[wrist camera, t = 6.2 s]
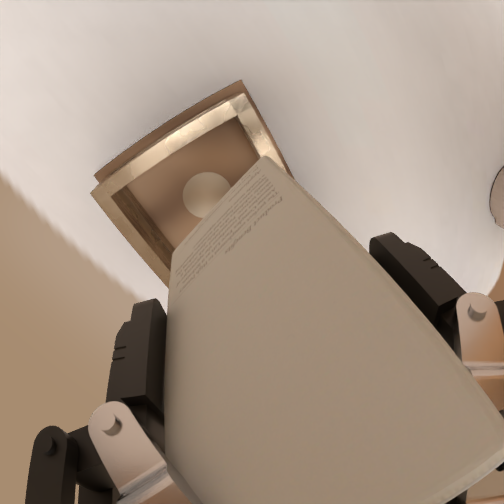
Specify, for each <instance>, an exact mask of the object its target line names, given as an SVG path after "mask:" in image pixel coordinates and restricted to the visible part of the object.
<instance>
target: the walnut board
mask: <svg viewBox="0 0 504 504" xmlns="http://www.w3.org/2000/svg"><path fill="white" fill-rule="evenodd" d="M237 92H241V93H245V95H246V97H247V99H248V100H249V102H250V104H251V106H252V107H253V109H254V111H255V113H256V115H257V116H258V118H259V120H260V122H261V124H262V126H263V127H264V129H265V131H266V133H267V135H268V137H269V139H270V140H271V142H272V144H273V146H274V148H275V150H276V152H277V154H278V156H279V158H280V159H281V161H282V163H283V165H284V167H285V169H286V171H287V173H288V174H289V175H290V176H291V177H292V178H293V176H292V174H291V172H290V170H289V168H288V166H287V164H286V162H285V160H284V158H283V156H282V154H281V152H280V150H279V148H278V146H277V144H276V142H275V140H274V138H273V137H272V135H271V133H270V131H269V129H268V127H267V125H266V124H265V122H264V120H263V118H262V116H261V114H260V113H259V111H258V109H257V107H256V105H255V104H254V102H253V100H252V98H251V96H250V95H249V93H248V91H247V89H246V88H245V86H244V84H243V82H242V81H241V80H239V81H237V82H235V83H233V84H232V85H230V86H228V87H226V88H224V89H222V90H220V91H218V92H217V93H215V94H213V95H211V96H209V97H208V98H206V99H204V100H202V101H201V102H199V103H197V104H195V105H194V106H192V107H190V108H189V109H187V110H185V111H184V112H182V113H180V114H179V115H177V116H176V117H174V118H172V119H171V120H169V121H168V122H166V123H165V124H163V125H162V126H160V127H159V128H157V129H156V130H154V131H153V132H151V133H150V134H148V135H147V136H145V137H144V138H142V139H141V140H139V141H138V142H137V143H135V144H134V145H132V146H131V147H130V148H128V149H127V150H126V151H124V152H123V153H122V154H120V155H119V156H117V157H116V158H115V159H114V160H112V161H111V162H110V163H108V164H107V165H106V166H105V167H103V168H102V169H101V170H99V171H98V172H97V173H96V174H95V175H94V176H95V178H96V179H97V180H98V182H99V183H100V182H101V181H102V180H103V179H104V178H105V177H106V176H107V175H108V174H110V173H111V172H112V171H114V170H115V169H116V168H118V167H119V166H120V165H122V164H123V163H124V162H126V161H127V160H129V159H130V158H131V157H133V156H134V155H135V154H137V153H138V152H140V151H141V150H143V149H144V148H145V147H147V146H148V145H150V144H151V143H153V142H154V141H156V140H157V139H159V138H160V137H162V136H163V135H165V134H166V133H168V132H169V131H171V130H173V129H174V128H176V127H177V126H179V125H181V124H182V123H184V122H185V121H187V120H189V119H190V118H192V117H194V116H195V115H197V114H199V113H200V112H202V111H204V110H206V109H207V108H209V107H211V106H213V105H214V104H216V103H218V102H220V101H222V100H223V99H225V98H227V97H229V96H231V95H233V94H235V93H237ZM258 160H259V159H258V157H257V155H256V154H255V152H254V150H253V148H252V146H251V145H250V143H249V141H248V139H247V138H246V136H245V134H244V132H243V131H242V129H241V127H240V125H239V124H238V122H237V120H236V119H235V117H233V118H231V119H229V120H227V121H226V122H224V123H222V124H220V125H218V126H217V127H215V128H213V129H211V130H210V131H208V132H206V133H205V134H203V135H201V136H200V137H198V138H196V139H195V140H193V141H191V142H190V143H188V144H186V145H185V146H183V147H182V148H180V149H178V150H177V151H175V152H174V153H172V154H171V155H169V156H168V157H166V158H164V159H163V160H161V161H160V162H158V163H157V164H155V165H154V166H152V167H151V168H149V169H148V170H147V171H145V172H144V173H142V174H141V175H139V176H138V177H137V178H135V179H134V180H132V181H131V182H129V183H128V184H127V187H128V188H129V189H130V191H131V192H132V193H133V195H134V196H135V197H136V199H137V200H138V202H139V203H140V204H141V206H142V207H143V208H144V210H145V211H146V212H147V213H148V215H149V216H150V217H151V219H152V220H153V221H154V223H155V224H156V225H157V227H158V228H159V229H160V230H161V232H162V233H163V234H164V236H165V237H166V238H167V239H168V241H169V242H170V243H171V245H172V246H173V247H174V248H175V249H176V248H177V247H178V246H179V245H180V243H181V242H182V241H183V240H184V239H185V238H186V237H187V236H188V235H189V233H190V232H191V231H192V230H193V229H194V228H195V227H196V226H197V225H198V224H199V222H200V221H201V220H202V219H203V218H204V217H205V216H206V215H207V214H208V213H209V211H210V210H211V209H212V208H213V207H214V206H215V205H216V204H217V203H218V202H219V201H220V200H221V199H222V197H223V196H224V195H225V194H226V193H227V192H228V191H229V190H230V189H231V188H232V187H233V186H234V185H235V184H236V183H237V182H238V181H239V180H240V179H241V178H242V176H243V175H244V174H245V173H246V172H247V171H248V170H249V169H250V168H251V167H252V166H253V165H254V164H255V163H256V162H257V161H258ZM293 179H294V178H293Z"/></svg>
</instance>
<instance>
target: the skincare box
mask: <svg viewBox="0 0 504 504" xmlns="http://www.w3.org/2000/svg"><path fill="white" fill-rule="evenodd" d="M164 429H165V455H166V457H167V458H168V459H169V461H170V462H171V463H172V465H173V466H174V467H175V468H176V469H177V470H178V472H179V473H180V474H181V475H182V476H183V477H184V479H185V480H186V481H187V483H188V484H189V486H190V487H191V488H192V490H193V491H194V492H195V494H196V495H197V496H198V498H199V499H200V500H201V502H202V503H203V504H445V503H447V502H448V501H450V500H452V499H453V498H455V497H456V496H458V495H459V494H461V493H462V492H464V491H465V490H467V489H468V488H470V487H471V486H473V485H474V484H475V483H477V482H478V481H480V480H481V479H482V478H484V477H485V476H486V475H488V474H489V473H490V472H492V471H493V470H494V469H495V468H497V467H498V466H499V465H500V464H502V463H503V462H504V418H503V417H502V415H501V414H500V412H499V411H498V410H497V408H496V407H495V405H494V404H493V403H492V401H491V400H490V398H489V397H488V396H487V394H486V393H485V392H484V390H483V389H482V388H481V386H480V385H479V384H478V382H477V381H476V380H475V378H474V377H473V376H472V375H471V373H470V372H469V371H468V369H467V368H466V367H465V366H464V364H463V363H462V362H461V360H460V359H459V358H458V356H457V355H456V354H455V353H454V351H453V350H452V349H451V348H450V346H449V345H448V344H447V342H446V341H445V340H444V339H443V337H442V336H441V335H440V334H439V333H438V331H437V330H436V329H435V328H434V326H433V325H432V324H431V323H430V322H429V320H428V319H427V318H426V317H425V316H424V314H423V313H422V312H421V311H420V310H419V309H418V307H417V306H416V305H415V304H414V303H413V302H412V300H411V299H410V298H409V297H408V296H407V295H406V293H405V292H404V291H403V290H402V289H401V288H400V287H399V285H398V284H397V283H396V282H395V281H394V280H393V279H392V278H391V277H390V275H389V274H388V273H387V272H386V271H385V270H384V269H383V268H382V267H381V266H380V264H379V263H378V262H377V261H376V260H375V259H374V258H373V257H372V256H371V255H370V254H369V253H368V252H367V251H366V249H365V248H364V247H363V246H362V245H361V244H360V243H359V242H358V241H357V240H356V239H355V238H354V237H353V236H352V235H351V234H350V233H349V232H348V231H347V230H346V229H345V228H344V227H343V226H342V225H341V224H340V223H339V222H338V221H337V220H336V219H335V218H334V217H333V216H332V215H331V214H330V213H329V212H328V211H327V210H326V209H325V208H324V207H323V206H322V205H321V204H320V203H319V202H318V201H317V200H315V199H314V198H313V197H312V196H311V195H310V194H309V193H308V192H307V191H306V190H305V189H304V188H303V187H302V186H300V185H299V184H298V183H297V182H296V181H295V180H294V179H293V178H292V177H291V176H290V175H289V174H287V173H286V172H285V171H284V170H283V169H282V168H281V167H280V166H279V165H277V164H276V163H275V162H274V161H273V160H272V159H271V158H270V157H268V156H262V157H261V158H260V159H259V160H258V161H257V162H256V163H255V164H254V165H253V166H252V167H251V168H250V169H249V170H248V171H247V172H246V173H245V174H244V175H243V176H242V178H241V179H240V180H239V181H238V182H237V183H236V184H235V185H234V186H233V187H232V188H231V189H230V190H229V191H228V192H227V193H226V194H225V195H224V196H223V197H222V199H221V200H220V201H219V202H218V203H217V204H216V205H215V206H214V207H213V208H212V209H211V210H210V211H209V213H208V214H207V215H206V216H205V217H204V218H203V219H202V220H201V221H200V222H199V224H198V225H197V226H196V227H195V228H194V229H193V230H192V231H191V232H190V233H189V235H188V236H187V237H186V238H185V239H184V240H183V241H182V242H181V243H180V245H179V246H178V247H177V248H176V249H175V251H174V252H173V254H172V261H171V271H170V282H169V294H168V310H167V326H166V351H165V395H164Z"/></svg>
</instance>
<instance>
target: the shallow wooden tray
mask: <svg viewBox="0 0 504 504" xmlns="http://www.w3.org/2000/svg"><path fill="white" fill-rule="evenodd" d="M233 117H235V119H236V120H237V122H238V124H239V125H240V127H241V129H242V131H243V132H244V134H245V136H246V138H247V139H248V141H249V143H250V145H251V146H252V148H253V150H254V152H255V154H256V155H257V157H258V159H260V158H261V157H262V156H268V157H270V158H271V159H272V160H273V161H274V162H275V163H276V164H277V165H279V166H280V167H281V168H282V169H283V170H284V171H285V172H286V173H287V171H286V169H285V167H284V165H283V163H282V161H281V159H280V158H279V156H278V154H277V152H276V150H275V148H274V146H273V144H272V142H271V140H270V139H269V137H268V135H267V133H266V131H265V129H264V127H263V126H262V124H261V122H260V120H259V118H258V116H257V115H256V113H255V111H254V109H253V107H252V106H251V104H250V102H249V100H248V99H247V97H246V95H245V93H241V92H237V93H235V94H233V95H231V96H229V97H227V98H225V99H223V100H222V101H220V102H218V103H216V104H214V105H213V106H211V107H209V108H207V109H206V110H204V111H202V112H200V113H199V114H197V115H195V116H194V117H192V118H190V119H189V120H187V121H185V122H184V123H182V124H181V125H179V126H177V127H176V128H174V129H173V130H171V131H169V132H168V133H166V134H165V135H163V136H162V137H160V138H159V139H157V140H156V141H154V142H153V143H151V144H150V145H148V146H147V147H145V148H144V149H143V150H141V151H140V152H138V153H137V154H135V155H134V156H133V157H131V158H130V159H129V160H127V161H126V162H124V163H123V164H122V165H120V166H119V167H118V168H116V169H115V170H114V171H112V172H111V173H110V174H108V175H107V176H106V177H105V178H104V179H103V180H102V181H101V182H100V183H99V184H98V185H97V186H96V187H95V189H94V190H93V191H92V192H91V193H90V194H91V195H92V196H93V198H94V199H95V200H96V202H97V203H98V204H99V206H100V207H101V208H102V209H103V211H104V212H105V213H106V215H107V216H108V217H109V218H110V220H111V221H112V222H113V223H114V225H115V226H116V227H117V228H118V230H119V231H120V232H121V233H122V235H123V236H124V237H125V238H126V240H127V241H128V242H129V243H130V244H131V246H132V247H133V248H134V249H135V250H136V252H137V253H138V254H139V255H140V256H141V257H142V259H143V260H144V261H145V262H146V263H147V264H148V266H149V267H150V268H151V269H152V270H153V271H154V273H155V274H156V275H157V276H158V277H159V278H160V279H161V280H162V282H163V283H164V284H165V285H166V286H167V287H168V288H169V282H170V271H171V261H172V254H173V252H174V251H175V248H174V247H173V246H172V245H171V243H170V242H169V241H168V239H167V238H166V237H165V236H164V234H163V233H162V232H161V230H160V229H159V228H158V227H157V225H156V224H155V223H154V221H153V220H152V219H151V217H150V216H149V215H148V213H147V212H146V211H145V210H144V208H143V207H142V206H141V204H140V203H139V202H138V200H137V199H136V197H135V196H134V195H133V193H132V192H131V191H130V189H129V188H128V187H127V184H128V183H129V182H131V181H132V180H134V179H135V178H137V177H138V176H139V175H141V174H142V173H144V172H145V171H147V170H148V169H149V168H151V167H152V166H154V165H155V164H157V163H158V162H160V161H161V160H163V159H164V158H166V157H168V156H169V155H171V154H172V153H174V152H175V151H177V150H178V149H180V148H182V147H183V146H185V145H186V144H188V143H190V142H191V141H193V140H195V139H196V138H198V137H200V136H201V135H203V134H205V133H206V132H208V131H210V130H211V129H213V128H215V127H217V126H218V125H220V124H222V123H224V122H226V121H227V120H229V119H231V118H233ZM287 174H288V173H287Z"/></svg>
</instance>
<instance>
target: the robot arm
mask: <svg viewBox="0 0 504 504" xmlns="http://www.w3.org/2000/svg"><path fill="white" fill-rule="evenodd" d="M490 208H491V212H492V215H493V216H494V217H495V219H496V224H497V225H499V226H500V227H502V228H503V229H504V168H503V169H502V170H501V171H500V172H499V174H498V176H497V178H496V180H495V182H494V185H493V188H492V193H491V199H490ZM369 254H370V255H371V256H372V257H373V258H374V259H375V260H376V261H377V262H378V263H379V264H380V266H381V267H382V268H383V269H384V270H385V271H386V272H387V273H388V274H389V275H390V277H391V278H392V279H393V280H394V281H395V282H396V283H397V284H398V285H399V287H400V288H401V289H402V290H403V291H404V292H405V293H406V295H407V296H408V297H409V298H410V299H411V300H412V302H413V303H414V304H415V305H416V306H417V307H418V309H419V310H420V311H421V312H422V313H423V314H424V316H425V317H426V318H427V319H428V320H429V322H430V323H431V324H432V325H433V326H434V328H435V329H436V330H437V331H438V333H439V334H440V335H441V336H442V337H443V339H444V340H445V341H446V342H447V344H448V345H449V346H450V348H451V349H452V350H453V351H454V353H455V354H456V355H457V356H458V358H459V359H460V360H461V362H462V363H463V364H464V366H465V367H466V368H467V369H468V371H469V372H470V373H471V375H472V376H473V377H474V378H475V380H476V381H477V382H478V384H479V385H480V386H481V388H482V389H483V390H484V392H485V393H486V394H487V396H488V397H489V398H490V400H491V401H492V403H493V404H494V405H495V407H496V408H497V410H498V411H499V412H500V414H501V415H502V417H503V418H504V300H503V301H497V302H493V301H492V300H491V299H490V298H489V297H487V296H486V295H484V294H481V293H476V292H470V293H466V292H465V291H464V290H463V289H462V288H461V287H460V286H459V284H458V283H457V282H456V281H455V280H454V279H453V278H452V277H451V276H450V275H449V274H448V273H447V272H446V271H444V270H443V269H442V268H441V267H439V266H438V264H437V263H436V262H435V261H434V260H433V259H431V257H430V256H429V255H428V254H427V253H426V252H425V251H423V250H422V249H421V248H419V247H417V246H415V245H413V244H411V243H409V242H407V243H404V242H403V241H402V240H401V239H400V238H399V237H398V236H397V235H395V234H394V233H392V232H389V233H386V234H383V235H380V236H376V237H373V238H371V240H370V245H369ZM166 326H167V315H166V313H165V311H164V310H163V308H162V306H161V304H160V302H159V301H158V300H157V299H156V298H155V299H151V300H147V301H143V302H140V303H136V304H134V306H133V310H132V315H131V321H129V322H124V324H123V325H122V327H121V329H120V330H119V332H118V334H117V336H116V341H115V346H114V349H115V351H114V352H113V357H112V360H113V362H112V364H111V369H110V376H109V382H108V389H107V397H106V403H104V404H103V405H101V406H99V407H98V408H97V409H96V410H95V411H94V413H93V414H92V416H91V418H90V421H89V425H87V426H85V427H82V428H80V429H77V430H75V431H72V432H70V433H66V432H64V431H63V430H62V429H60V428H59V427H57V426H48V427H46V428H44V429H43V430H41V431H40V432H39V434H38V435H37V437H36V439H35V441H34V445H33V450H32V456H31V462H30V468H29V475H28V483H27V490H26V499H25V504H74V501H75V486H76V484H77V485H79V496H78V504H203V503H202V502H201V500H200V499H199V498H198V496H197V495H196V494H195V492H194V491H193V490H192V488H191V487H190V486H189V484H188V483H187V481H186V480H185V479H184V477H183V476H182V475H181V474H180V473H179V472H178V470H177V469H176V468H175V467H174V466H173V465H172V463H171V462H170V461H169V459H168V458H167V457H166V455H165V429H164V395H165V351H166ZM445 504H504V462H503V463H502V464H500V465H499V466H498V467H497V468H495V469H494V470H493V471H492V472H490V473H489V474H488V475H486V476H485V477H484V478H482V479H481V480H480V481H478V482H477V483H475V484H474V485H473V486H471V487H470V488H468V489H467V490H465V491H464V492H462V493H461V494H459V495H458V496H456V497H455V498H453V499H452V500H450V501H448V502H447V503H445Z"/></svg>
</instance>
